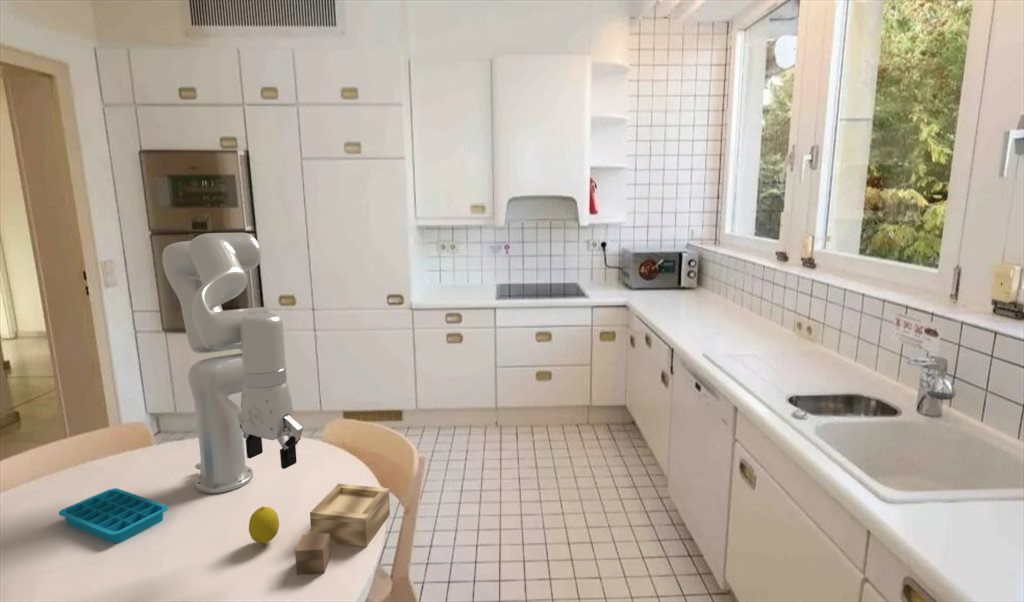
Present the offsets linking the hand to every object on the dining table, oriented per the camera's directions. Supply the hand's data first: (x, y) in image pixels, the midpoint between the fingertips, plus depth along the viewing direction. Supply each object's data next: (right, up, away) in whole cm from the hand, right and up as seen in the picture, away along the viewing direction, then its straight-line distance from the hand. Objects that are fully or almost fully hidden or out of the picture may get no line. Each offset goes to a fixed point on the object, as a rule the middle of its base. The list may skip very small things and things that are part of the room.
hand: (271, 460), depth 107 cm
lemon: (-2, -18, +2) cm, 18 cm away
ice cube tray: (-38, -17, +10) cm, 43 cm away
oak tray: (+14, -17, +8) cm, 23 cm away
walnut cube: (+10, -19, -4) cm, 22 cm away
